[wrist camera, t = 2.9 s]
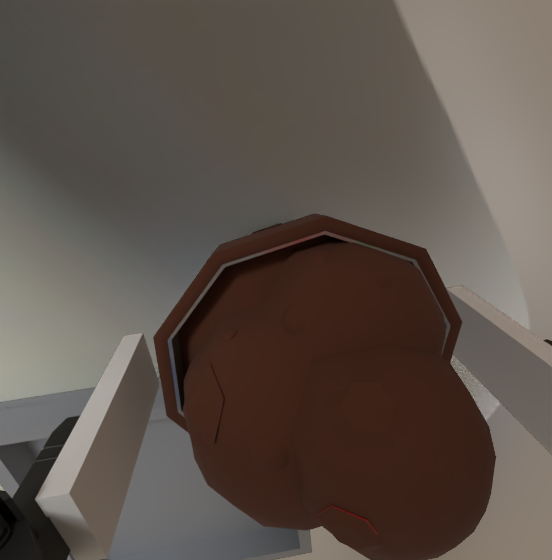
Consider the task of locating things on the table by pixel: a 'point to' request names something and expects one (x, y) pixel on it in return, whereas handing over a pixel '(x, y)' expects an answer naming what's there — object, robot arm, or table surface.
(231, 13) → the table surface
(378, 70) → the table surface
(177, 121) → the table surface
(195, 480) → the tray
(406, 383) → the ice cream bowl
